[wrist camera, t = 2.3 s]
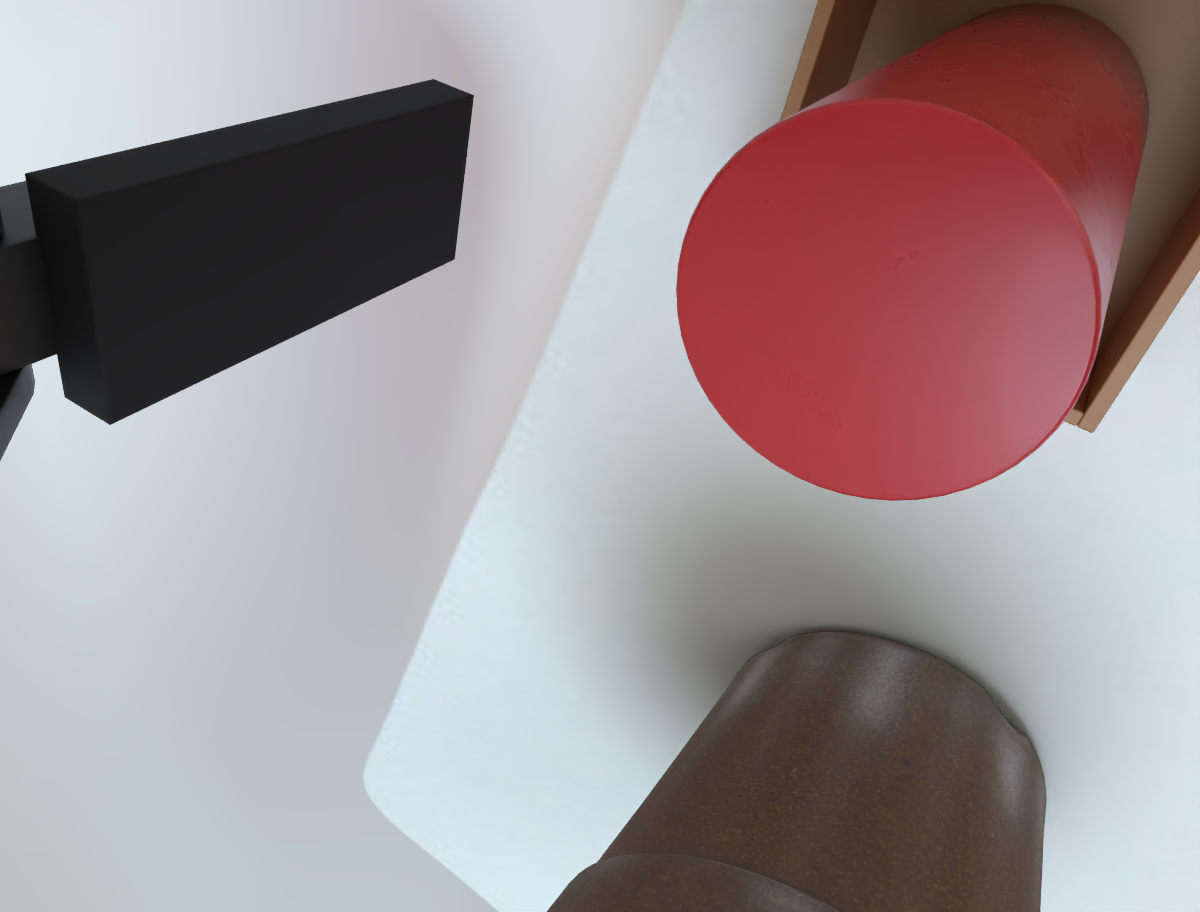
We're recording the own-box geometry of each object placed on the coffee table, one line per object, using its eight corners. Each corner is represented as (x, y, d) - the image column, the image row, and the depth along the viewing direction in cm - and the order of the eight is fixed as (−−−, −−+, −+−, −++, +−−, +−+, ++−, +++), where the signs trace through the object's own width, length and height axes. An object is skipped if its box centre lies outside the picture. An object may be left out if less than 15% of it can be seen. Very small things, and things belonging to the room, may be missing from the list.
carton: (912, -137, 22) (862, -143, 19) (1349, -20, 20) (1379, -4, 16) (784, 233, 28) (729, 278, 25) (1106, 364, 25) (1093, 434, 22)
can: (950, -29, 23) (737, 36, 12) (1203, 47, 21) (1206, 197, 11) (861, 200, 26) (637, 401, 16) (1071, 282, 25) (974, 566, 14)
